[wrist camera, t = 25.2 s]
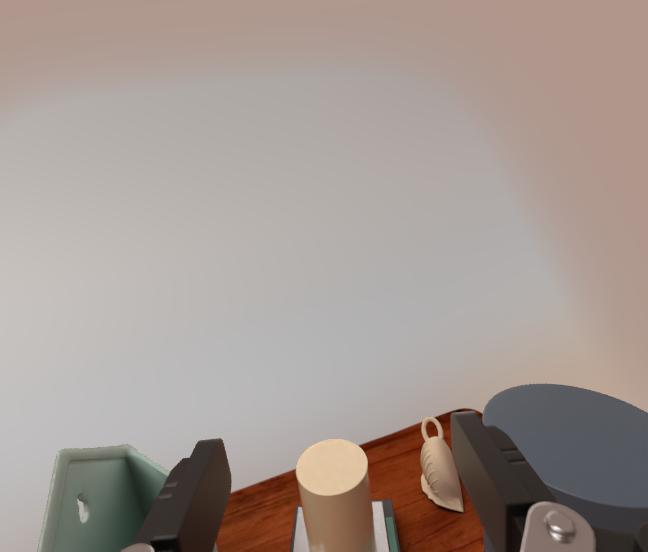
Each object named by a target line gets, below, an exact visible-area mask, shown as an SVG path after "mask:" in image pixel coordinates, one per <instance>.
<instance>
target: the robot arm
mask: <svg viewBox="0 0 648 552" xmlns="http://www.w3.org/2000/svg"><path fill="white" fill-rule="evenodd" d="M451 441H452V455H453V460H454V464H455V467H456V470H457V472H458V474H459V476H460V478H461V480H462V483H463V485H464V487H465V489H466V491H467V493H468V495H469V498H470V500H471V502H472V504H473V506H474V508H475V510H476V512H477V515H478V517H479V519H480V521H481V523H482V525H483V527H484V530H485V532H486V534H487V536H488V538H489V540H490V542H491V544H492V547H493V549H494V551H495V552H648V520H647V521H643V522H641V523H639V524H638V525H637V526H636V529H635V534H634V535H632V534H626V533H621V532H616V531H611V530H605V529H601V528H597V527H594V526H591V525H589V524H588V522H587V521H586V520H585V519H584V518H583V517H582V516H581V515H579V514H578V513H577V512H575V511H574V510H572V509H570V508H568V507H566V506H564V505H561V504H559V503H558V502H557V500H556V499H555V498H554V496H553V495H552V494H551V492H550V491H549V490H548V488H547V487H546V485H545V484H544V483H543V481H542V480H541V479H540V477H539V476H538V475H537V473H536V472H535V471H534V469H533V468H532V467H531V465H530V464H529V463H528V461H526V459H525V457H524V456H523V454H522V453H521V452H520V450H518V448H517V446H516V445H515V444H514V442H513V441H512V440H511V438H510V437H509V436H508V435H507V434H506V433H505V432H503V431H502V430H500V429H499V428H497V427H496V426H495V425H489V426H484V424H483V423H482V421H481V420H480V418H479V417H478V415H477V414H476V412H475V411H467V412H458V413H452V414H451ZM230 492H231V472H230V468H229V464H228V460H227V456H226V451H225V447H224V443H223V440H222V439H220V438H219V439H210V440H201V441H198V443H197V444H196V446H195V448H194V450H193V452H192V455H191V456H190V458H183V459H182V460H181V461H180V462H179V463H178V464H177V465H176V466H175V467H174V468H173V469H172V471H171V472H170V474H169V475H168V477H167V479H166V481H165V483H164V485H163V488H162V489H161V490H160V492H159V494H158V496H157V500H155V502H154V504H153V505H152V507H151V509H150V511H149V513H148V515H147V517H146V519H145V520H144V522H143V524H142V526H141V528H140V530H139V532H138V534H137V535H136V537H135V539H134V541H133V543H132V545H131V546H129V547H126V548H125V549H123V550H121V551H120V552H213V549H214V546H215V542H216V539H217V536H218V532H219V529H220V526H221V522H222V519H223V516H224V512H225V509H226V506H227V503H228V499H229V496H230Z"/></svg>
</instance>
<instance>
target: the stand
mask: <svg viewBox="0 0 648 552" xmlns="http://www.w3.org/2000/svg"><path fill="white" fill-rule="evenodd" d="M483 424H484V426H489V425H495V426H496V427H497V428H499V429H500V430H502V431H503V432H505V433H506V434H507V435H508V436H509V437H510V438H511V440H512V441H513V442H514V444H515V445H516V446H517V448H518V450H520V452H521V453H522V454H523V456H524V457H525V459H526V461H528V463H529V464H530V465H531V467H532V468H533V469H534V471H535V472H536V473H537V475H538V476H539V477H540V479H541V480H542V481H543V483H544V484H545V485H546V487H547V488H548V490H549V491H550V492H551V494H552V495H553V496H554V498H555V499H556V500H557V502H558V503H559V504H561V505H564V506H566V507H568V508H570V509H572V510H574V511H575V512H577V513H578V514H579V515H581V516H582V517H583V518H584V519H585V520H586V521H587V522H588V524H589V525H591V526H594V527H597V528H601V529H605V530H611V531H616V532H621V533H626V534H632V535H634V534H635V529H636V526H637V525H638V524H639V523H641V522H643V521H647V520H648V413H647V412H645V411H643V410H641V409H639V408H637V407H635V406H633V405H631V404H629V403H626V402H624V401H621V400H619V399H616V398H614V397H611V396H608V395H605V394H601V393H598V392H595V391H591V390H587V389H583V388H577V387H572V386H565V385H556V384H529V385H522V386H517V387H513V388H509V389H507V390H504V391H502V392H500V393H498V394H497V395H495V396H494V397H493V398H492V399H491V400H490V401H489V402H488V403H487V405H486V406H485V409H484V411H483ZM484 552H495V551H494V549H493V547H492V544H491V542H490V540H489V538H488V536H487V534H486V532H485V530H484Z"/></svg>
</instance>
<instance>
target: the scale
mask: <svg viewBox="0 0 648 552" xmlns="http://www.w3.org/2000/svg"><path fill="white" fill-rule="evenodd" d="M372 505H373V514H374V523H375V532H376V541H377V552H401V550H400V545H399V539H398V534H397V528H396V522H395V517H394V511H393V506H392V500H391V499H388V500H374V501H372ZM290 552H309V546H308V540H307V535H306V529H305V523H304V517H303V511H302V506H296V508H295V517H294V525H293V533H292V541H291V549H290Z"/></svg>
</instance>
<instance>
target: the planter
mask: <svg viewBox="0 0 648 552" xmlns="http://www.w3.org/2000/svg"><path fill="white" fill-rule="evenodd" d="M169 474H170V471H169V470H167V469H165V468H164V467H162V466H160V465H158V464H157V463H155V462H154V461H152V460H150V459H149V458H148V457H146V456H145V455H143V454H142V453H140V452H139V451H138V450H136V449H135V448H134V447H132V446H131V445H128V444H125V445H119V446H108V447H97V448H83V449H62V450H60V451H59V452H58V454H57V456H56V460H55V463H54V468H53V474H52V479H51V485H50V490H49V495H48V500H47V505H46V511H45V515H44V521H43V526H42V530H41V535H40V540H39V544H38V549H37V552H120V551H121V550H123V549H125V548H126V547H129V546H131V545H132V543H133V541H134V539H135V537H136V535H137V534H138V532H139V530H140V528H141V526H142V524H143V522H144V520H145V519H146V517H147V515H148V513H149V511H150V509H151V507H152V505H153V504H154V502H155V500H157V496H158V494H159V492H160V490H161V489H162V488H163V485H164V483H165V481H166V479H167V477H168V475H169ZM77 498H78V499H79V501H82V502H83V503H84V515H83V518H82V521H80V517H79V506H78V502H77ZM213 552H218V550H217V546H216V542H215V546H214V549H213Z"/></svg>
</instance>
